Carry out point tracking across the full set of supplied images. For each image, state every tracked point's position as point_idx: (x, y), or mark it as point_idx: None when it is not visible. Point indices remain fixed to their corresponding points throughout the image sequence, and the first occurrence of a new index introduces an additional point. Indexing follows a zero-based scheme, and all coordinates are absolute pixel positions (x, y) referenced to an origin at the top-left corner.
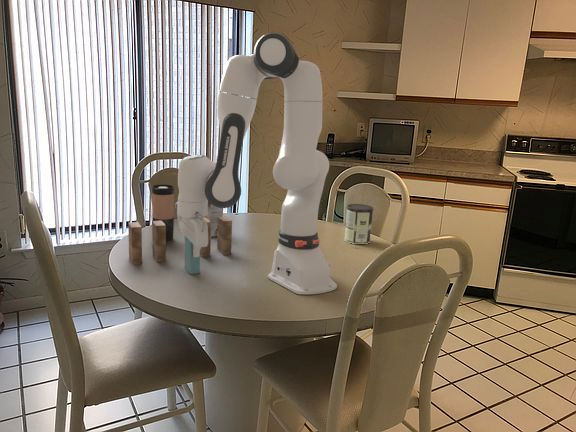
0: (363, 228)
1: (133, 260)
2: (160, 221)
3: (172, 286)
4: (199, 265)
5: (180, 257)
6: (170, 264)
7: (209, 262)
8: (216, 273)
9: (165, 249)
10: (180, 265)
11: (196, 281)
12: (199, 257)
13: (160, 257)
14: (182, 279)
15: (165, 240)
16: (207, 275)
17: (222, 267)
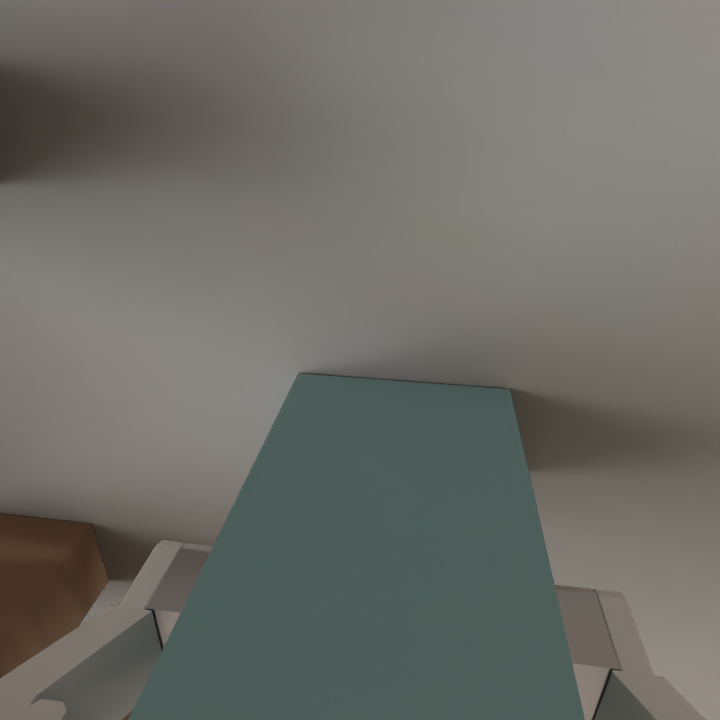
0: None
1: (127, 718)
2: None
3: (686, 656)
4: (522, 447)
5: (7, 397)
6: (189, 522)
7: (199, 158)
8: (616, 219)
9: (19, 617)
10: (231, 466)
11: (708, 488)
12: (538, 526)
13: (82, 586)
14: (584, 561)
15: None
16: (617, 341)
17: (440, 44)
